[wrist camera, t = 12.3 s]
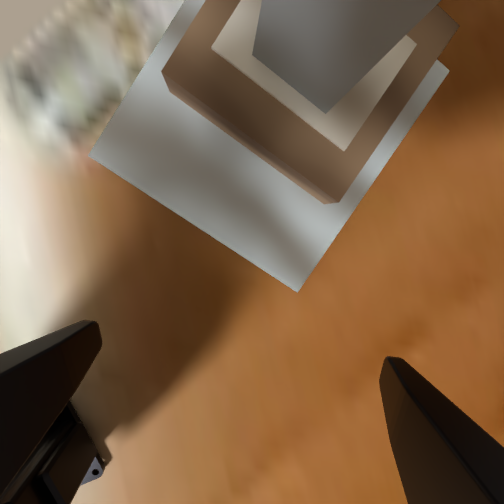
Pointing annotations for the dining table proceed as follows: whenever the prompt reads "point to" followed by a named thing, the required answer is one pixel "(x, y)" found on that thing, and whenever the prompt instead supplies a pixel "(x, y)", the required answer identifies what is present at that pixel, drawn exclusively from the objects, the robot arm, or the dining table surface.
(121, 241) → the dining table surface
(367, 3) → the post
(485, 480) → the robot arm
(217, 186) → the plinth
